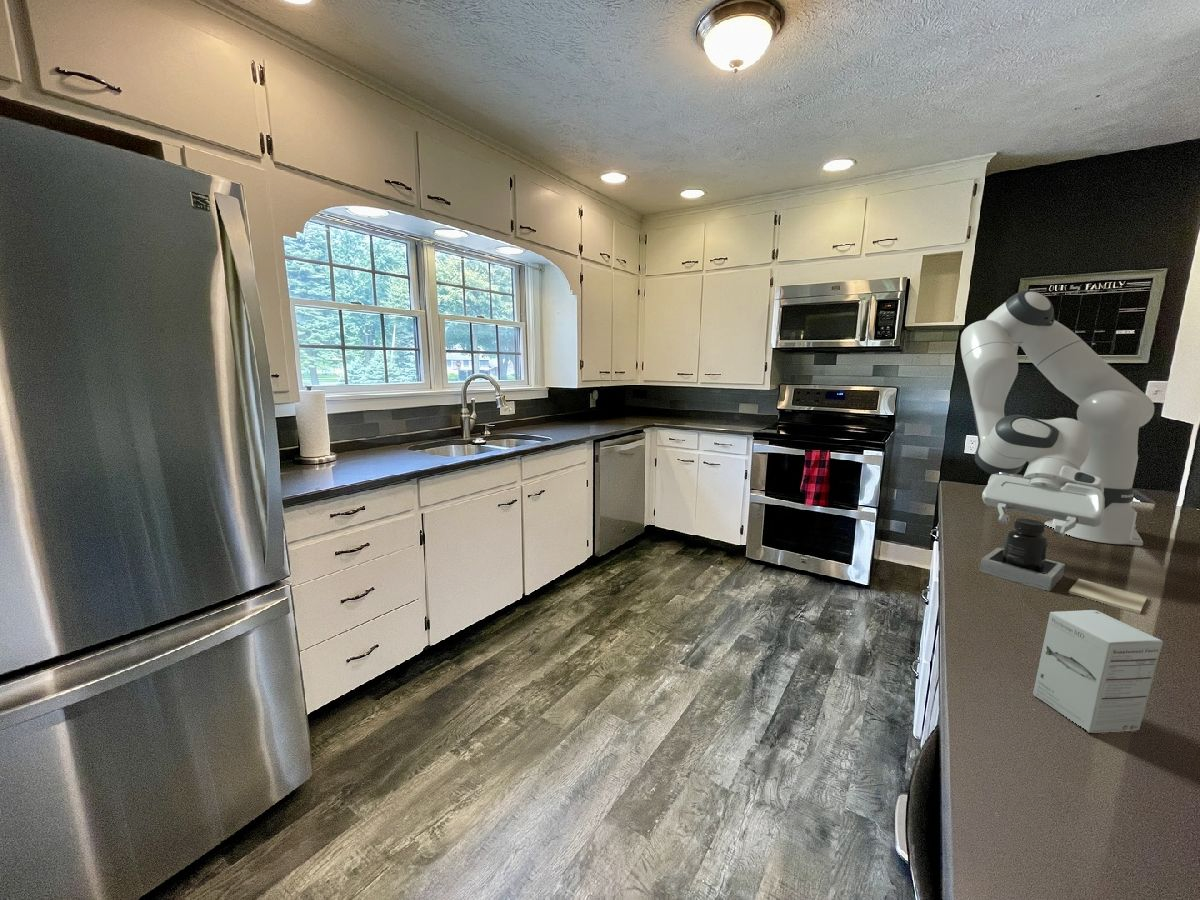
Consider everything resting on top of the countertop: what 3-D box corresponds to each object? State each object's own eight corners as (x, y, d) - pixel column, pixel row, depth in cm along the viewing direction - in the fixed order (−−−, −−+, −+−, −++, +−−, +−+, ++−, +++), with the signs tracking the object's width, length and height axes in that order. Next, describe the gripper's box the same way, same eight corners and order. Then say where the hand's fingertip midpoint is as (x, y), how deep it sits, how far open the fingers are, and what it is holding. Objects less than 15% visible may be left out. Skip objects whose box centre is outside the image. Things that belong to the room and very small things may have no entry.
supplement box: (1030, 695, 66) (1046, 610, 63) (1079, 692, 66) (1097, 608, 64) (1088, 736, 58) (1109, 642, 56) (1143, 733, 59) (1166, 639, 57)
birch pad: (1078, 581, 101) (1079, 578, 101) (1146, 599, 93) (1147, 596, 93) (1068, 593, 95) (1068, 590, 95) (1139, 614, 88) (1140, 611, 87)
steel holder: (995, 559, 112) (997, 547, 111) (1062, 577, 103) (1065, 564, 102) (979, 571, 105) (981, 558, 104) (1049, 591, 96) (1052, 577, 95)
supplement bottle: (1049, 583, 100) (1060, 528, 98) (1012, 579, 101) (1022, 525, 99) (1028, 569, 106) (1037, 517, 104) (993, 566, 108) (1001, 515, 106)
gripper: (991, 463, 115) (970, 508, 111) (1113, 480, 99) (1093, 534, 95) (994, 478, 119) (974, 523, 115) (1112, 497, 102) (1093, 550, 99)
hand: (1029, 528), depth 105 cm, fingers open, 8 cm apart
